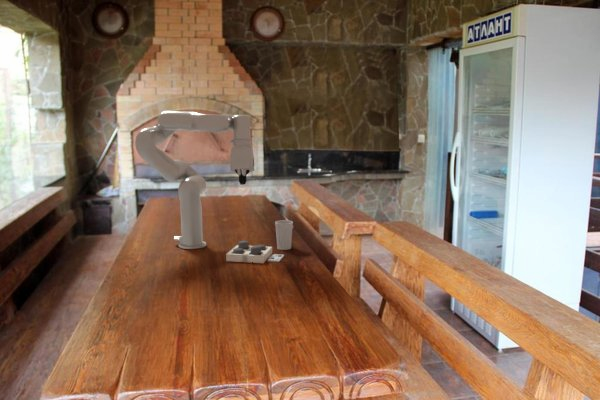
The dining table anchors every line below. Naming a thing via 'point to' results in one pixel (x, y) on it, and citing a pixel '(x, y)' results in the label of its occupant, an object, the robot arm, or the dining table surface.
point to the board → (249, 255)
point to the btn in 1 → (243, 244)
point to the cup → (284, 234)
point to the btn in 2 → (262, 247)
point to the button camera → (255, 250)
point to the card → (275, 258)
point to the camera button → (238, 251)
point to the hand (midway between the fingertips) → (242, 184)
